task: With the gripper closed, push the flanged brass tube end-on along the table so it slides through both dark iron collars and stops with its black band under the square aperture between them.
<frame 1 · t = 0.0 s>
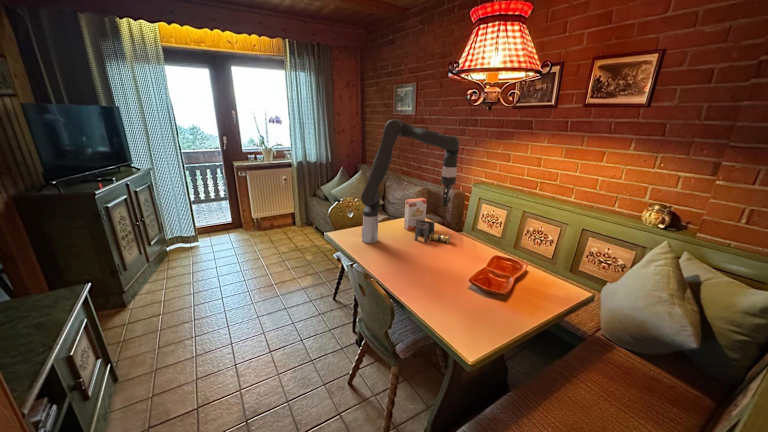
hand: (446, 204, 162), 29 cm above the table, fingers open, 8 cm apart
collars: (422, 238, 191), on the table
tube: (439, 241, 187), on the table
cracker box: (414, 228, 208), on the table
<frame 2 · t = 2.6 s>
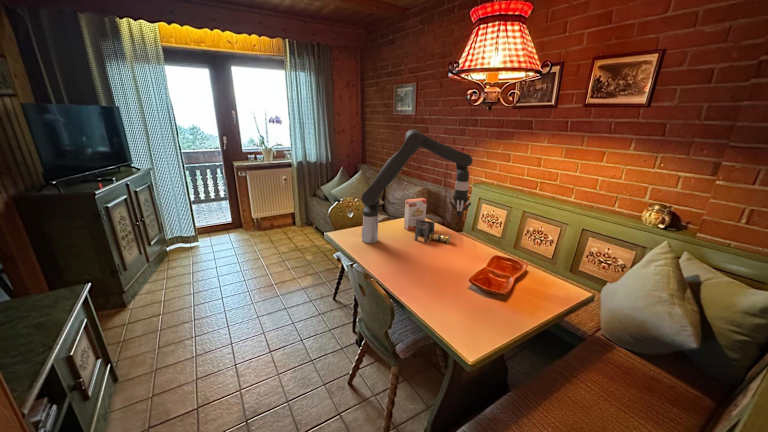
hand: (459, 216, 178), 18 cm above the table, fingers closed
nothing on the table moved.
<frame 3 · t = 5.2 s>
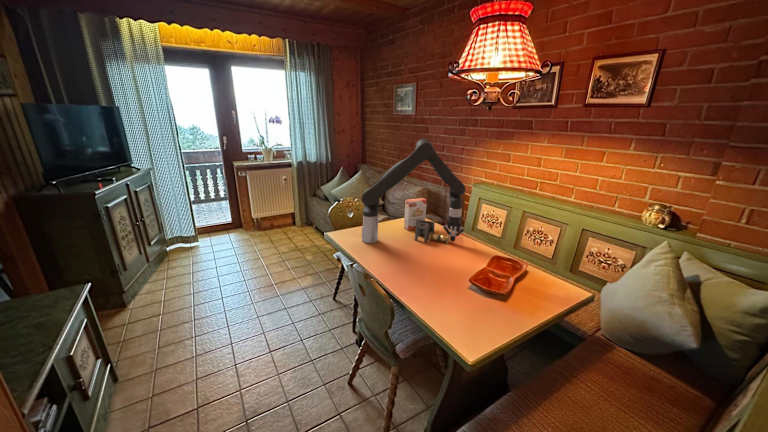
hand: (452, 241, 184), 1 cm above the table, fingers closed
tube: (438, 241, 187), on the table, touching gripper
everything else where it was.
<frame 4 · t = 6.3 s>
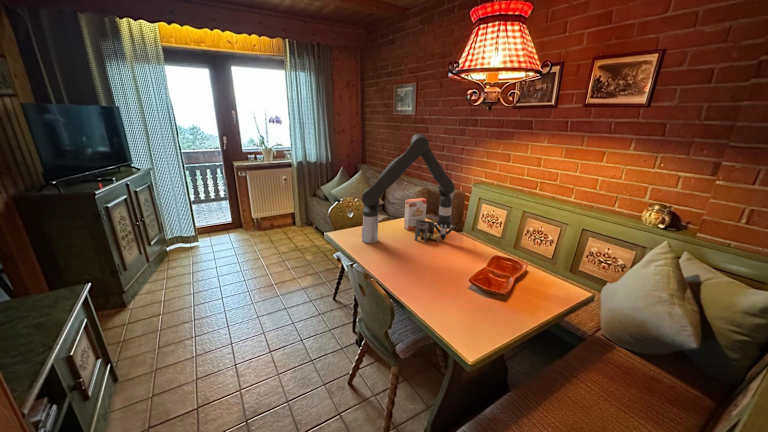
hand: (443, 239, 186), 2 cm above the table, fingers closed
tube: (429, 239, 190), on the table, touching gripper
everything else where it was.
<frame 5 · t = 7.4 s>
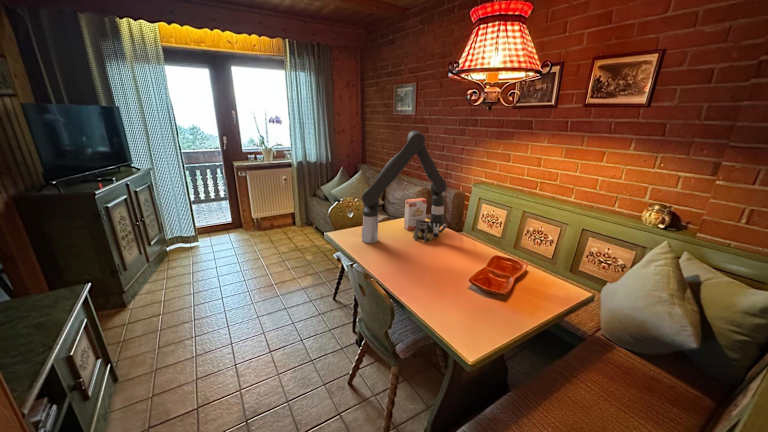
hand: (436, 238, 188), 2 cm above the table, fingers closed
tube: (423, 238, 191), on the table
everything else where it was.
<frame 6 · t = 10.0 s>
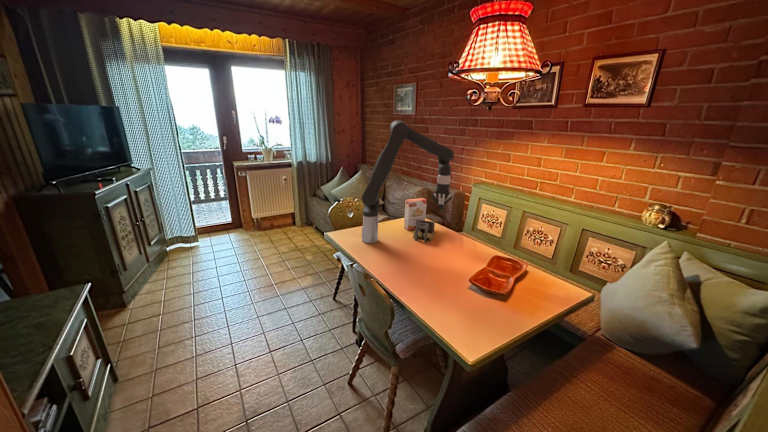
hand: (440, 209, 182), 20 cm above the table, fingers closed
nothing on the table moved.
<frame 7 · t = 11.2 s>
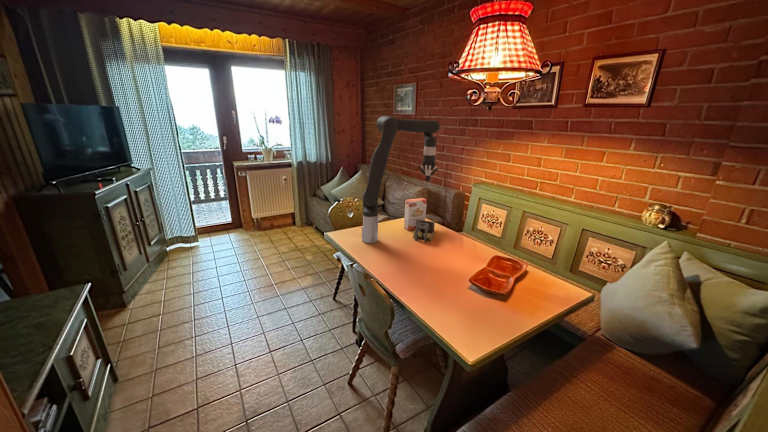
hand: (427, 181, 191), 35 cm above the table, fingers closed
nothing on the table moved.
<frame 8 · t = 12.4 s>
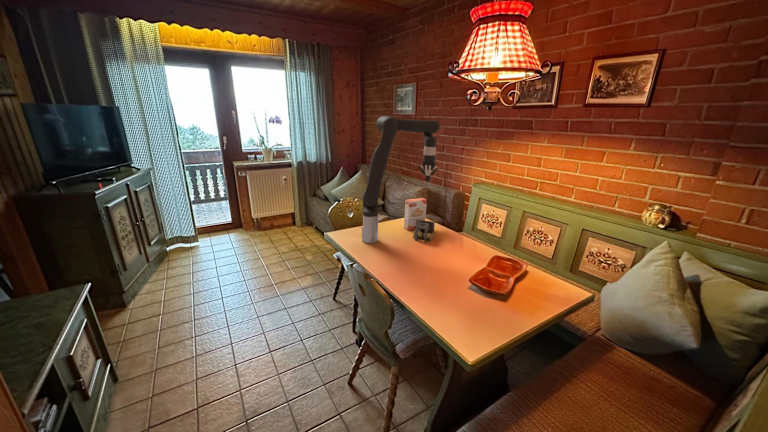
hand: (427, 181, 191), 35 cm above the table, fingers closed
nothing on the table moved.
at the end: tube 0.6 cm off-centre on the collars, point 0.0 cm above the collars's base; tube moved 10.7 cm from its start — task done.
